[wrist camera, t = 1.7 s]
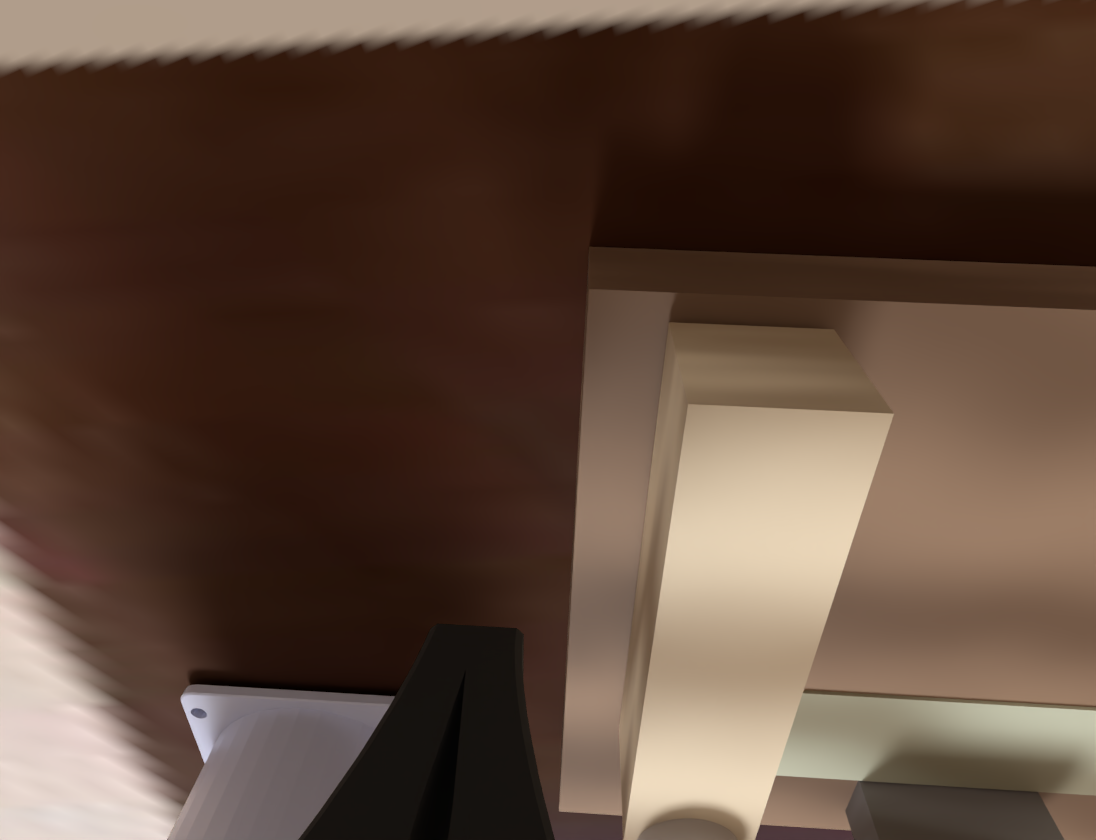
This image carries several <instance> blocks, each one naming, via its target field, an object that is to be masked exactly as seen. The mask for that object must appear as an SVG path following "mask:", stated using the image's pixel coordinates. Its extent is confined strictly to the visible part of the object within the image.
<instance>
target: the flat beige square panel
mask: <svg viewBox="0 0 1096 840" xmlns="http://www.w3.org/2000/svg"><path fill="white" fill-rule="evenodd" d="M669 322H675V323H698V324H721V325H744V326H768V327H791V328H814V329H834V330H835V332H836V333H837V334H838V336H839V337H840V339H841V340H842V341H843V343H844V344H845V346H846V347H847V348H848V350H849V351H850V353H851V354H852V355H853V357H854V358H855V360H856V361H857V362H858V364H859V365H860V367H861V368H862V369H863V371H864V372H865V374H866V375H867V376H868V378H869V379H870V381H871V382H872V383H873V385H874V386H875V388H876V389H877V390H878V392H879V393H880V395H881V396H882V397H883V399H884V400H885V402H886V403H887V405H888V406H889V407H890V409H891V410H892V412H893V413H894V415H893V418H892V422H891V425H890V428H889V431H888V434H887V437H886V440H885V443H884V446H883V449H882V452H881V455H880V458H879V461H878V464H877V467H876V470H875V474H874V477H873V480H872V483H871V486H870V489H869V492H868V495H867V498H866V501H865V504H864V507H863V510H862V513H861V516H860V519H859V523H858V526H857V529H856V532H855V535H854V538H853V541H852V544H851V547H850V550H849V553H848V556H847V559H846V562H845V565H844V568H843V571H842V575H841V578H840V581H839V584H838V587H837V590H836V593H835V596H834V599H833V602H832V605H831V608H830V611H829V614H828V617H827V620H826V624H825V627H824V630H823V633H822V636H821V639H820V642H819V645H818V648H817V651H816V654H815V657H814V660H813V663H812V666H811V669H810V672H809V676H808V679H807V682H806V685H805V688H804V691H803V694H802V697H801V700H800V703H799V706H798V709H797V712H796V715H795V718H794V721H793V725H792V728H791V731H790V734H789V737H788V740H787V743H786V746H785V749H784V752H783V755H782V758H781V761H780V764H779V767H778V770H777V773H776V777H775V780H774V783H773V786H772V789H771V792H770V795H769V798H768V801H767V804H766V807H765V810H764V813H763V816H762V819H761V822H760V824H761V825H776V826H792V827H807V828H822V829H838V830H851V831H852V835H853V838H854V840H1096V267H1089V266H1064V265H1039V264H1014V263H989V262H964V261H939V260H913V259H888V258H863V257H838V256H813V255H788V254H763V253H738V252H713V251H688V250H662V249H637V248H612V247H589V259H588V277H587V295H586V313H585V331H584V349H583V367H582V385H581V403H580V421H579V439H578V457H577V475H576V493H575V510H574V528H573V546H572V564H571V582H570V600H569V618H568V636H567V654H566V672H565V690H564V708H563V726H562V747H561V772H560V798H559V811H562V812H577V813H592V814H608V815H622V796H621V769H620V743H619V725H620V717H621V709H622V701H623V693H624V684H625V676H626V668H627V660H628V652H629V644H630V636H631V627H632V619H633V611H634V603H635V595H636V587H637V579H638V570H639V562H640V554H641V546H642V538H643V530H644V522H645V513H646V505H647V497H648V489H649V481H650V473H651V465H652V456H653V448H654V440H655V432H656V424H657V416H658V408H659V399H660V391H661V383H662V375H663V367H664V359H665V351H666V343H667V334H668V326H669Z"/></svg>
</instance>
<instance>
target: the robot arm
mask: <svg viewBox="0 0 1096 840" xmlns="http://www.w3.org/2000/svg"><path fill="white" fill-rule="evenodd" d="M523 645H524V634H523V633H521V632H520V631H519V630H518V629H517V628H503V627H485V626H468V625H451V624H436V625H435V626H434V627H432V628H431V629H430V631H429V633H428V635H427V638H426V640H425V642H424V644H423V646H422V648H421V650H420V652H419V654H418V656H417V658H416V660H415V662H414V664H413V666H412V667H411V669H410V671H409V673H408V675H407V677H406V678H405V680H404V682H403V684H402V685H401V687H400V689H399V691H398V692H397V694H396V696H383V695H367V694H350V693H333V692H317V691H300V690H284V689H267V688H251V687H234V686H218V685H201V684H195V685H190V686H188V687H187V688H186V689H185V691H184V693H183V694H182V696H181V703H182V706H183V708H184V711H185V713H186V716H187V719H188V721H189V724H190V726H191V729H192V732H193V734H194V737H195V739H196V742H197V745H198V747H199V750H200V752H201V755H202V758H203V760H204V763H205V764H204V766H203V768H202V770H201V773H200V775H199V777H198V779H197V781H196V783H195V785H194V787H193V789H192V791H191V793H190V795H189V797H188V799H187V801H186V803H185V805H184V807H183V809H182V811H181V813H180V815H179V817H178V819H177V821H176V823H175V825H174V827H173V829H172V831H171V833H170V835H169V837H168V839H167V840H555V839H554V835H553V831H552V828H551V824H550V820H549V816H548V812H547V808H546V804H545V800H544V796H543V792H542V788H541V783H540V779H539V775H538V770H537V765H536V760H535V755H534V750H533V745H532V740H531V735H530V729H529V723H528V717H527V710H526V702H525V693H524V684H523Z"/></svg>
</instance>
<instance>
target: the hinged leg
mask: <svg viewBox="0 0 1096 840" xmlns="http://www.w3.org/2000/svg"><path fill="white" fill-rule="evenodd" d="M893 415H894V413H893V412H892V410H891V409H890V407H889V406H888V405H887V403H886V402H885V400H884V399H883V397H882V396H881V395H880V393H879V392H878V390H877V389H876V388H875V386H874V385H873V383H872V382H871V381H870V379H869V378H868V376H867V375H866V374H865V372H864V371H863V369H862V368H861V367H860V365H859V364H858V362H857V361H856V360H855V358H854V357H853V355H852V354H851V353H850V351H849V350H848V348H847V347H846V346H845V344H844V343H843V341H842V340H841V339H840V337H839V336H838V334H837V333H836V332H835V330H834V329H814V328H791V327H768V326H744V325H721V324H698V323H675V322H669V326H668V334H667V343H666V351H665V359H664V367H663V375H662V383H661V391H660V399H659V408H658V416H657V424H656V432H655V440H654V448H653V456H652V465H651V473H650V481H649V489H648V497H647V505H646V513H645V522H644V530H643V538H642V546H641V554H640V562H639V570H638V579H637V587H636V595H635V603H634V611H633V619H632V627H631V636H630V644H629V652H628V660H627V668H626V676H625V684H624V693H623V701H622V709H621V717H620V725H619V743H620V769H621V796H622V822H623V840H755V838H756V835H757V832H758V829H759V826H760V822H761V819H762V816H763V813H764V810H765V807H766V804H767V801H768V798H769V795H770V792H771V789H772V786H773V783H774V780H775V777H776V773H777V770H778V767H779V764H780V761H781V758H782V755H783V752H784V749H785V746H786V743H787V740H788V737H789V734H790V731H791V728H792V725H793V721H794V718H795V715H796V712H797V709H798V706H799V703H800V700H801V697H802V694H803V691H804V688H805V685H806V682H807V679H808V676H809V672H810V669H811V666H812V663H813V660H814V657H815V654H816V651H817V648H818V645H819V642H820V639H821V636H822V633H823V630H824V627H825V624H826V620H827V617H828V614H829V611H830V608H831V605H832V602H833V599H834V596H835V593H836V590H837V587H838V584H839V581H840V578H841V575H842V571H843V568H844V565H845V562H846V559H847V556H848V553H849V550H850V547H851V544H852V541H853V538H854V535H855V532H856V529H857V526H858V523H859V519H860V516H861V513H862V510H863V507H864V504H865V501H866V498H867V495H868V492H869V489H870V486H871V483H872V480H873V477H874V474H875V470H876V467H877V464H878V461H879V458H880V455H881V452H882V449H883V446H884V443H885V440H886V437H887V434H888V431H889V428H890V425H891V422H892V418H893Z"/></svg>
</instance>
